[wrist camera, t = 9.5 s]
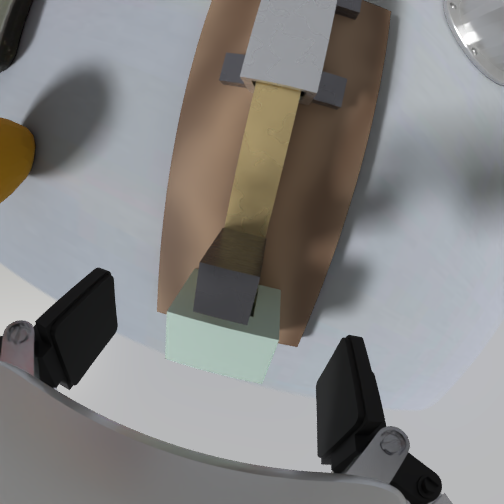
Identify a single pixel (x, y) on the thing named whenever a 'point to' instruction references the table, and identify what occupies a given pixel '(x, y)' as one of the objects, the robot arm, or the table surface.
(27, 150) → the apple
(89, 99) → the table surface
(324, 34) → the sleeve
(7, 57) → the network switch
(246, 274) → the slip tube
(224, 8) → the base board
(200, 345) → the socket
